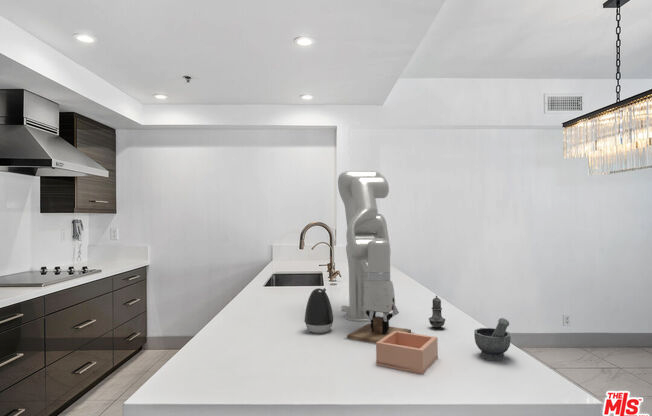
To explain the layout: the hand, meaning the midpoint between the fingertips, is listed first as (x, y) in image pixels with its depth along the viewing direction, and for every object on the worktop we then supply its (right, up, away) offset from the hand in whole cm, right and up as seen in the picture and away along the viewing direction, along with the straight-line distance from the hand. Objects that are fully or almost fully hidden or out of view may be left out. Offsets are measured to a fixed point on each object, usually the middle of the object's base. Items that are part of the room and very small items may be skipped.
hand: (379, 331), depth 133 cm
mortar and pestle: (+30, -1, -21) cm, 36 cm away
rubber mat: (0, -2, 0) cm, 2 cm away
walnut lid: (0, -2, 0) cm, 2 cm away
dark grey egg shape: (-20, -2, +7) cm, 22 cm away
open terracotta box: (+5, -1, -23) cm, 23 cm away
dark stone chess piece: (+21, -2, +8) cm, 23 cm away
